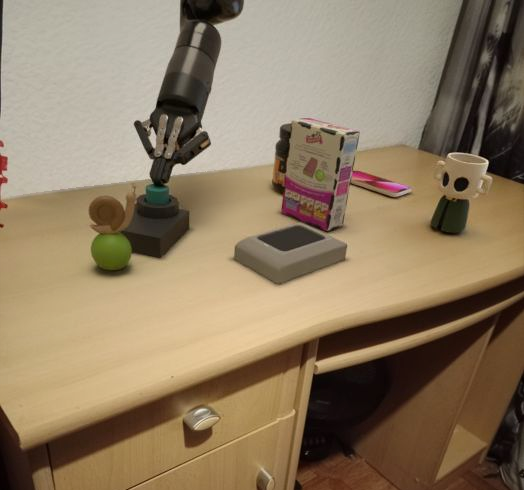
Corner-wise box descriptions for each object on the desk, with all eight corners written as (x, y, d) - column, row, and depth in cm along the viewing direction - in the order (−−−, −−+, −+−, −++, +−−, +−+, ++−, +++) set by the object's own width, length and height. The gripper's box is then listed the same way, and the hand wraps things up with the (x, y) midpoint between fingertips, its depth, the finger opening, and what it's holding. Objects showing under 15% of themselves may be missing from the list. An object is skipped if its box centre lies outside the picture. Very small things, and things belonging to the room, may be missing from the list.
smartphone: (356, 169, 124) (413, 187, 116) (355, 174, 125) (412, 192, 117) (337, 175, 119) (395, 194, 111) (336, 179, 120) (394, 198, 112)
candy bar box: (344, 226, 97) (362, 131, 88) (327, 232, 94) (344, 134, 85) (296, 207, 103) (308, 115, 94) (279, 212, 100) (290, 118, 91)
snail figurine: (141, 275, 75) (138, 190, 68) (93, 278, 73) (85, 191, 66) (137, 258, 79) (134, 176, 72) (91, 260, 78) (83, 176, 71)
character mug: (411, 222, 102) (429, 152, 95) (432, 215, 106) (451, 147, 99) (462, 243, 96) (486, 169, 88) (482, 235, 100) (506, 164, 93)
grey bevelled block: (348, 237, 84) (280, 260, 75) (344, 259, 86) (277, 284, 77) (304, 217, 89) (235, 236, 80) (301, 237, 91) (233, 259, 82)
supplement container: (260, 185, 111) (266, 124, 105) (297, 179, 117) (304, 120, 111) (295, 202, 105) (303, 138, 98) (332, 194, 111) (342, 133, 104)
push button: (151, 197, 88) (151, 182, 86) (172, 201, 87) (172, 185, 86) (142, 204, 85) (141, 188, 83) (163, 208, 84) (163, 192, 83)
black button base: (141, 218, 92) (139, 188, 89) (191, 227, 91) (191, 198, 88) (104, 246, 82) (102, 214, 79) (160, 257, 80) (160, 226, 77)
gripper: (140, 64, 85) (109, 163, 82) (221, 76, 83) (191, 178, 80) (155, 95, 92) (126, 188, 89) (229, 107, 90) (202, 202, 87)
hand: (157, 183), depth 84 cm, fingers closed
